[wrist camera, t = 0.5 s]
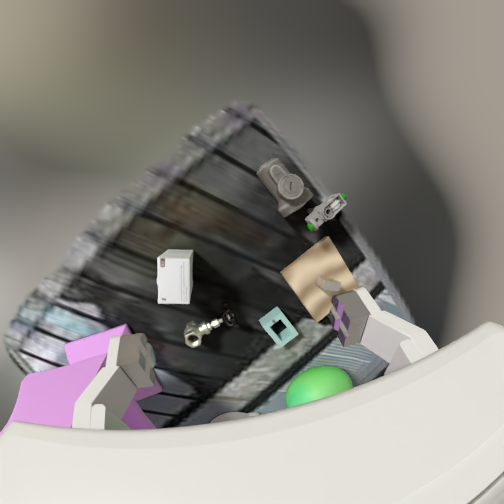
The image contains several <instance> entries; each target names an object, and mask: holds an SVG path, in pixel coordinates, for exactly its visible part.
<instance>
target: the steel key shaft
mask: <svg viewBox="0 0 504 504" xmlns="http://www.w3.org/2000/svg"><path fill="white" fill-rule="evenodd" d="M315 285H317V286H318V287H320V288H322V289H323V290H331V291H339V290H340V285H341V282H339V281H337V280H335V279H333V278H329V277H320V276H317V277H316V282H315Z"/></svg>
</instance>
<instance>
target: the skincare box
mask: <svg viewBox="0 0 504 504" xmlns="http://www.w3.org/2000/svg"><path fill="white" fill-rule="evenodd" d="M157 266H158V277H157V285H158V304H190V297H191V292H192V287H193V272H192V270H193V250H167V251H166V252H164V253H163V254H162V255H160V256H159V257H158V258H157Z"/></svg>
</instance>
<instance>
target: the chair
mask: <svg viewBox="0 0 504 504" xmlns="http://www.w3.org/2000/svg"><path fill="white" fill-rule="evenodd" d="M130 334H132V332H131V330H130V328H129V326H128V324H127V323H126V324H123V325H120V326H117V327H114V328H111V329H108V330H105V331H102V332H99V333H96V334H93V335H90V336H87V337H84V338H81V339H78V340H75V341H71V342H68V343H66V344H65V345H64V349H65V352H66V355H67V358H68V361H69V364H70V365H67V366H63V367H60V368H56V369H51V370H45V371H40V372H36V373H32V374H28V375H27V376H26V377H25V378H24V379H23V381H22V383H21V387H20V391H19V395H18V399H17V402H16V405H15V408H14V411H13V413H12V415H11V417H10V419H9V422H8V423H7V424H6V426H5V427H4V429H3V430H2V431H1V432H0V435H1V434H2V433H3V431H4V430H5V429H6V427H7V426H8V425H9V424H10V423H11V422H12V421H15V420H17V421H24V422H29V423H36V424H42V425H50V426H59V427H69V428H72V421H73V413H74V405H75V402H76V401H77V400H78V398H79V397H80V396H81V394H82V393H83V392H84V390H85V389H86V388H87V387H88V385H89V384H90V383H91V381H92V380H93V379H94V378H95V376H96V375H97V374H98V373H99V371H100V370H101V369H102V368H103V367H106V360H107V353H108V347H109V341H110V338H111V337H112V336H122V335H130ZM137 389H138V390H137V391H136V393H135V395H134V397H133V398H132V400H131V402H130V404H129V406H128V408H127V409H126V411H125V413H124V415H123V417H122V418H121V420H122V421H123V422H124V423H125V424H127V425H128V426H129V427H130V428H131V430H140V429H157V428H156V427H155V425H154V424H153V423H152V422H151V421H150V420H149V418H148V417H147V416H146V415H145V413H144V412H143V411H142V409H141V408H140V407H139V405H138V404H137V402H136V401H138V400H141V399H144V398H146V397H149V396H152V395H154V394H157V393H160V392H162V387H161V385H160V384H159V382H158V380H157V378H156V377H155V386H152V387H143V388H137Z"/></svg>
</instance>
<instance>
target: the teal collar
mask: <svg viewBox="0 0 504 504" xmlns="http://www.w3.org/2000/svg"><path fill="white" fill-rule="evenodd" d="M280 319H281V320H282V322H283V323H284V324H285V325H286V327H287V328H286V329H284V330H283V331H282V332H280V333H279V334H278V335H277V334H276V333H275V332H274V330H273V329H272V328H271V326H272V325H273V324H275V323H276V322H277V321H279V320H280ZM259 321H260V323H261V325H262V327H263V328H264V329H265V330H266V331H267V333H268V334H269V335H270V336H271V337H272V339H273V340H274V341H275V342H276V343H277V345H278V346H279V347H280V348H281V347H283V346H284V345H285V344H287V343H288V342H289V341H290V340H292V339H293V338H294V337H296V336H297V335H298V332H297V331H296V330H295V328H294V327H293V326H292V325H291V323H290V322H289V321H288V319H287V318H286V317H285V315H284V314H283V313H282V312H281V310H280V309H279V308H278V307H276V308H274V309H273V310H272V311H270V312H269V313H268V314H266V315H265V316H264V317H262V318H261V319H260V320H259Z"/></svg>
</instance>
